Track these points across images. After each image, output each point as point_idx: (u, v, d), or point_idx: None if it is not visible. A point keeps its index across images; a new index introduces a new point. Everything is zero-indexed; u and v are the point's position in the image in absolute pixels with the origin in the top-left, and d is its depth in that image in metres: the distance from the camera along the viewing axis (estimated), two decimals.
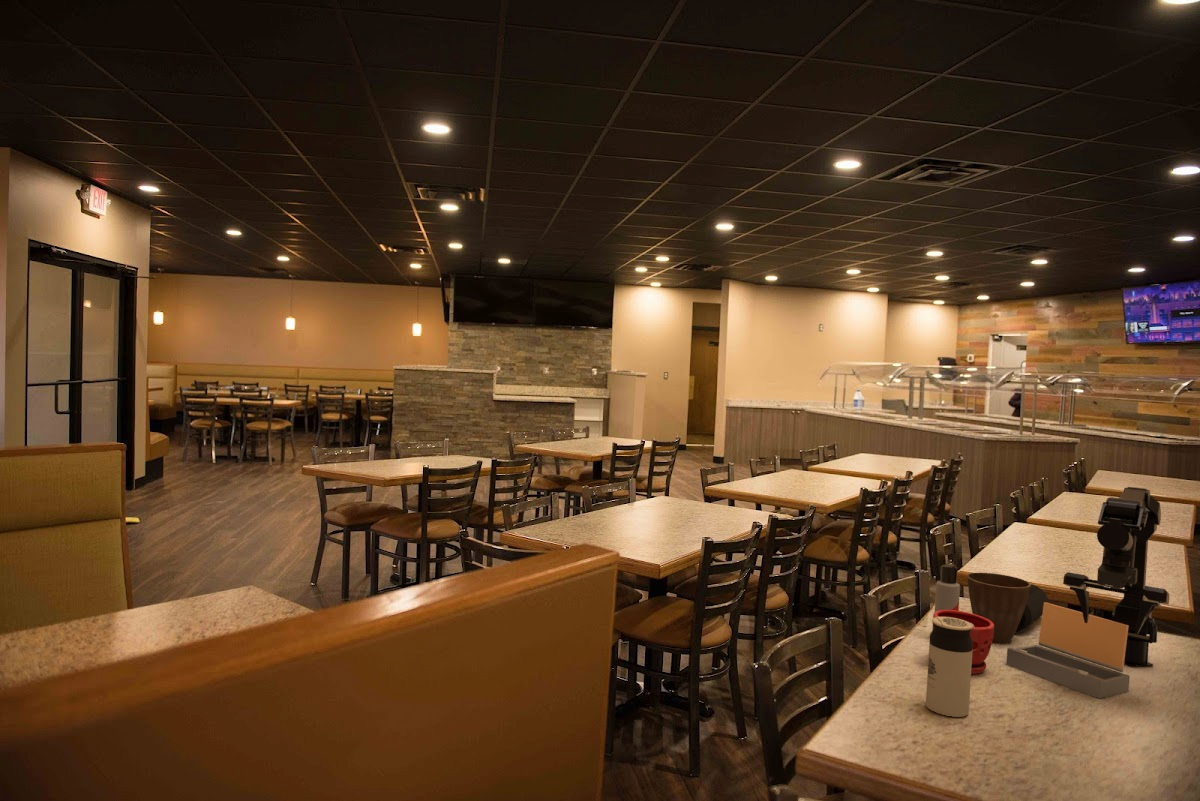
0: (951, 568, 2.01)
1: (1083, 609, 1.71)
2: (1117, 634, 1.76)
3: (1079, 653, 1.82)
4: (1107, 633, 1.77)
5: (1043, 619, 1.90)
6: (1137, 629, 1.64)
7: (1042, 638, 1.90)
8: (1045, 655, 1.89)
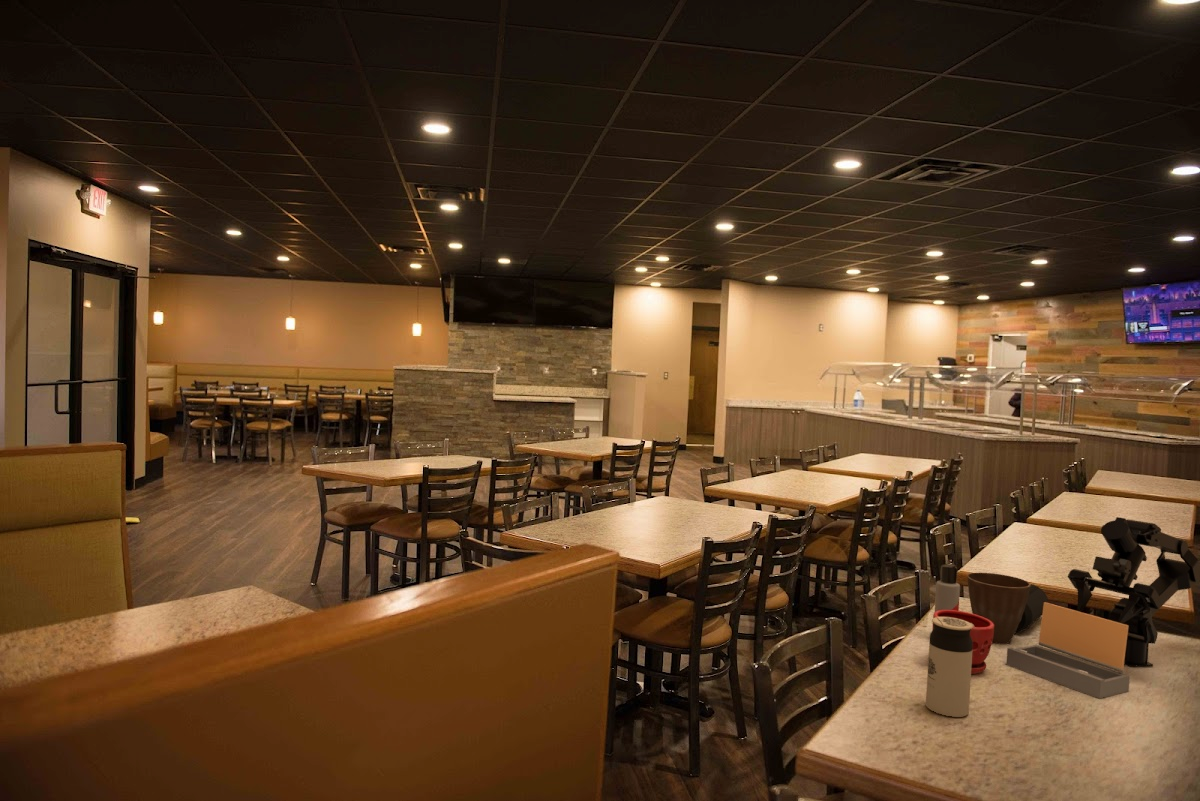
0: (951, 568, 2.01)
1: (1079, 599, 1.89)
2: (1117, 634, 1.76)
3: (1079, 653, 1.82)
4: (1107, 633, 1.77)
5: (1043, 619, 1.90)
6: (1121, 618, 1.80)
7: (1042, 638, 1.90)
8: (1045, 655, 1.89)
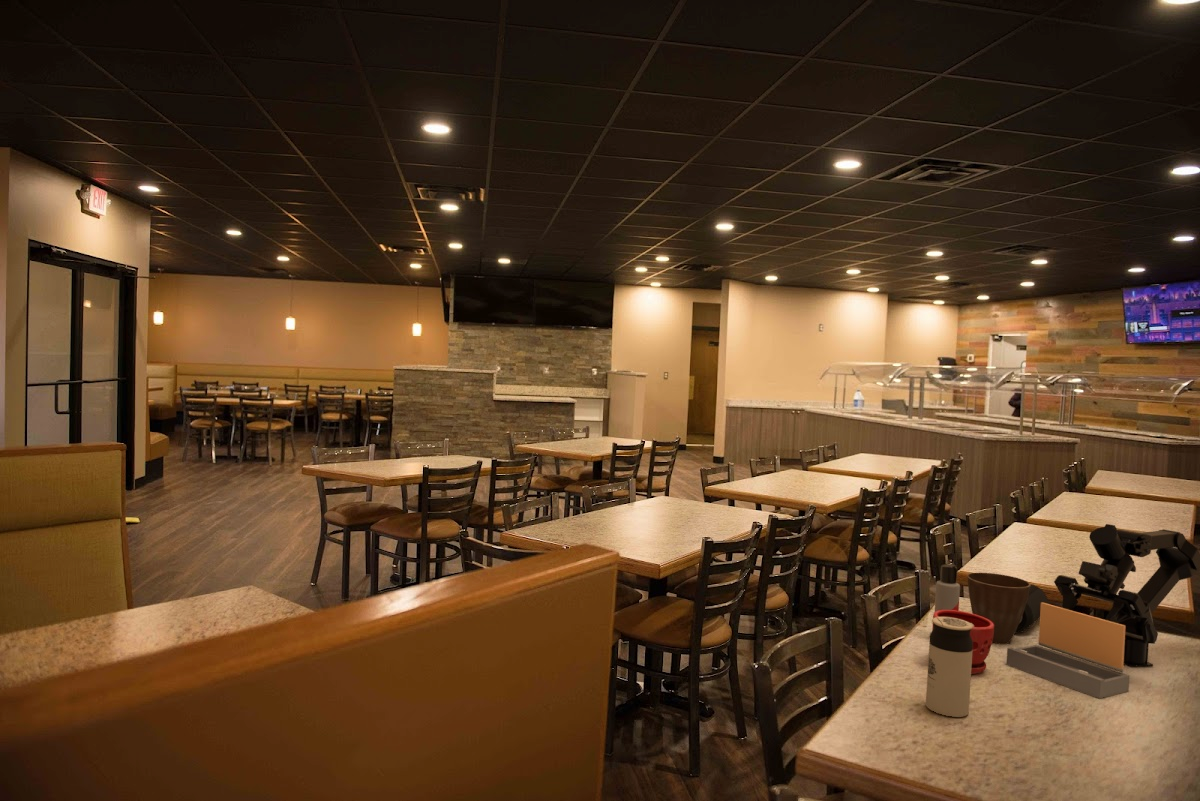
0: (951, 568, 2.01)
1: (1063, 604, 1.88)
2: (1115, 635, 1.75)
3: (1079, 653, 1.82)
4: (1105, 633, 1.77)
5: (1041, 619, 1.90)
6: None
7: (1042, 638, 1.90)
8: (1045, 655, 1.89)
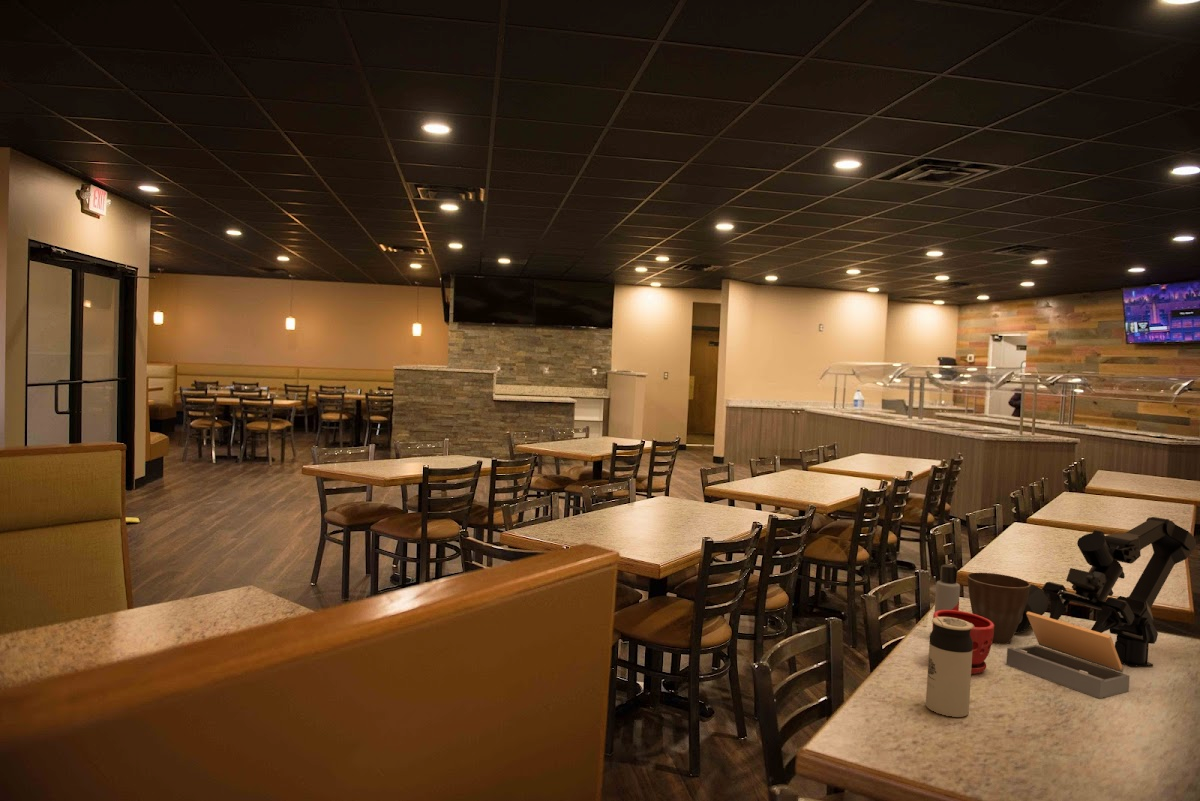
0: (951, 568, 2.01)
1: (1051, 611, 1.85)
2: (1104, 644, 1.73)
3: (1078, 655, 1.82)
4: (1095, 642, 1.75)
5: (1033, 626, 1.89)
6: None
7: (1040, 641, 1.90)
8: (1045, 655, 1.89)
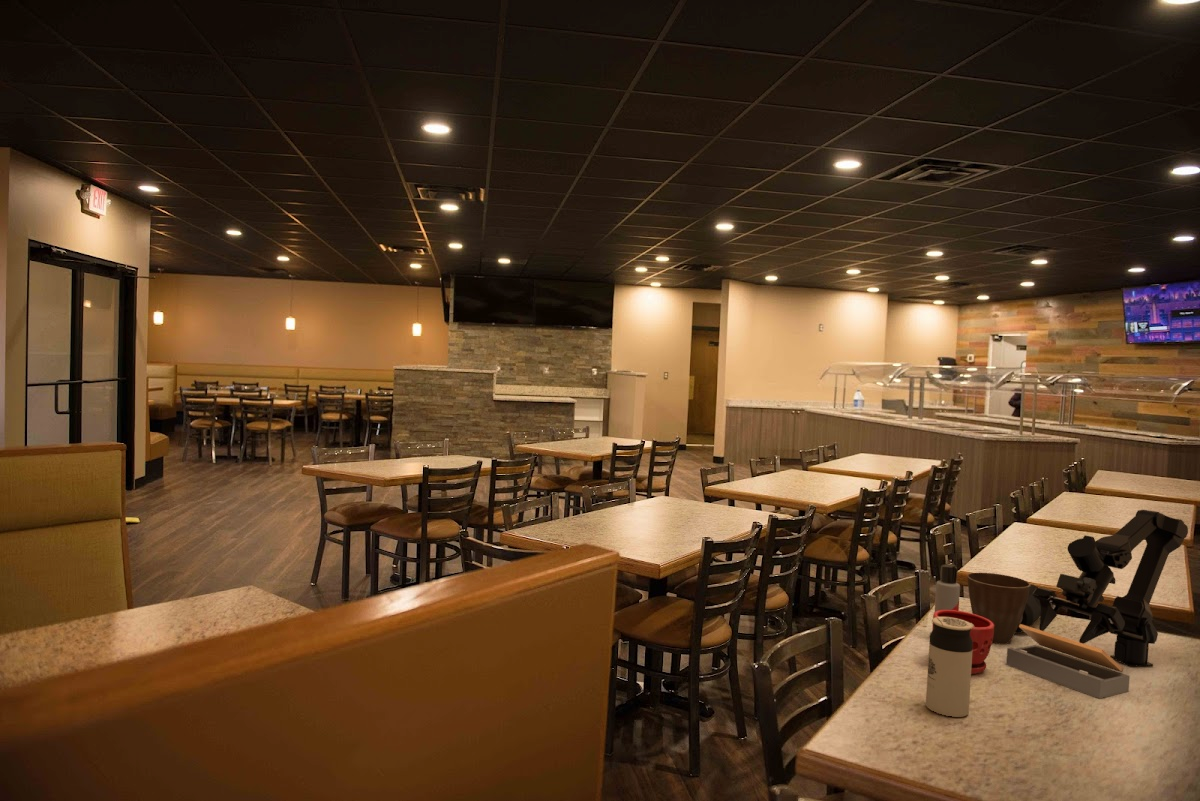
0: (951, 568, 2.01)
1: (1042, 617, 1.84)
2: (1098, 655, 1.72)
3: (1078, 656, 1.82)
4: (1089, 652, 1.74)
5: (1028, 634, 1.88)
6: (1081, 638, 1.74)
7: (1039, 643, 1.90)
8: (1045, 655, 1.89)
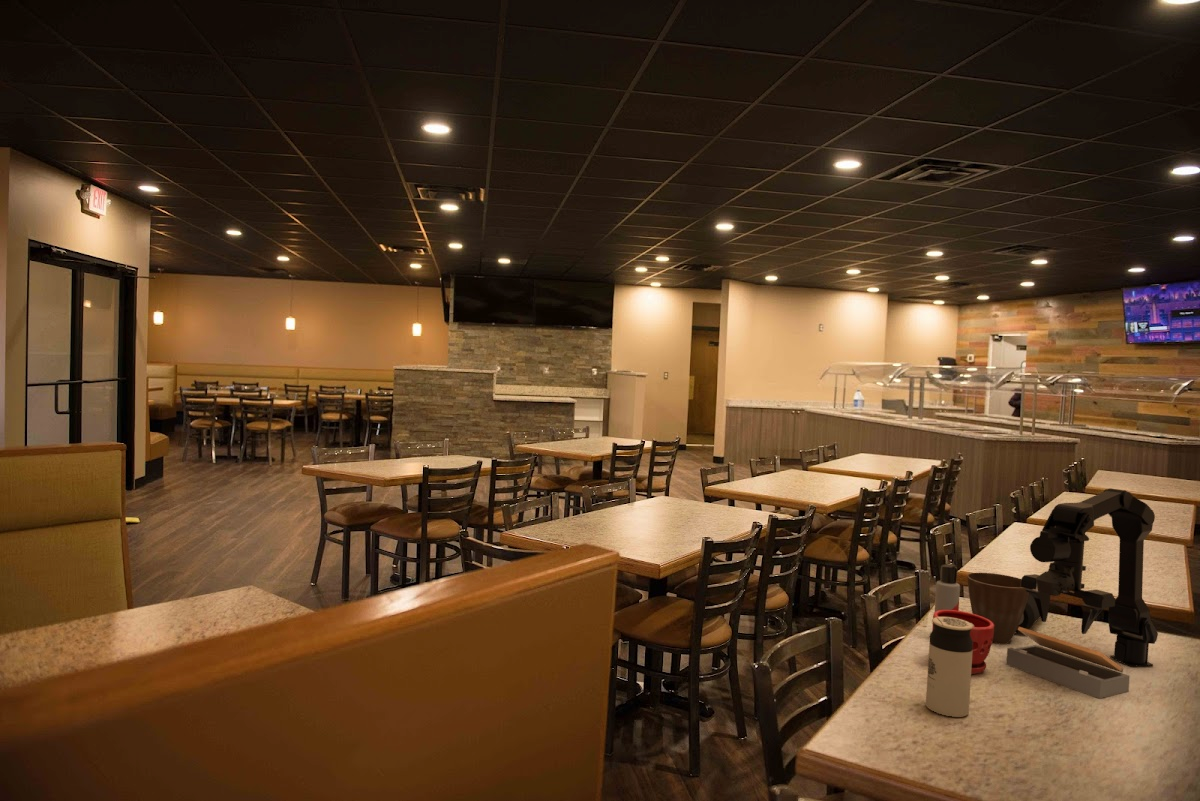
0: (951, 568, 2.01)
1: (1039, 609, 1.83)
2: (1097, 657, 1.72)
3: (1078, 656, 1.82)
4: (1089, 655, 1.74)
5: (1028, 636, 1.88)
6: (1082, 630, 1.74)
7: (1039, 643, 1.90)
8: (1045, 655, 1.89)
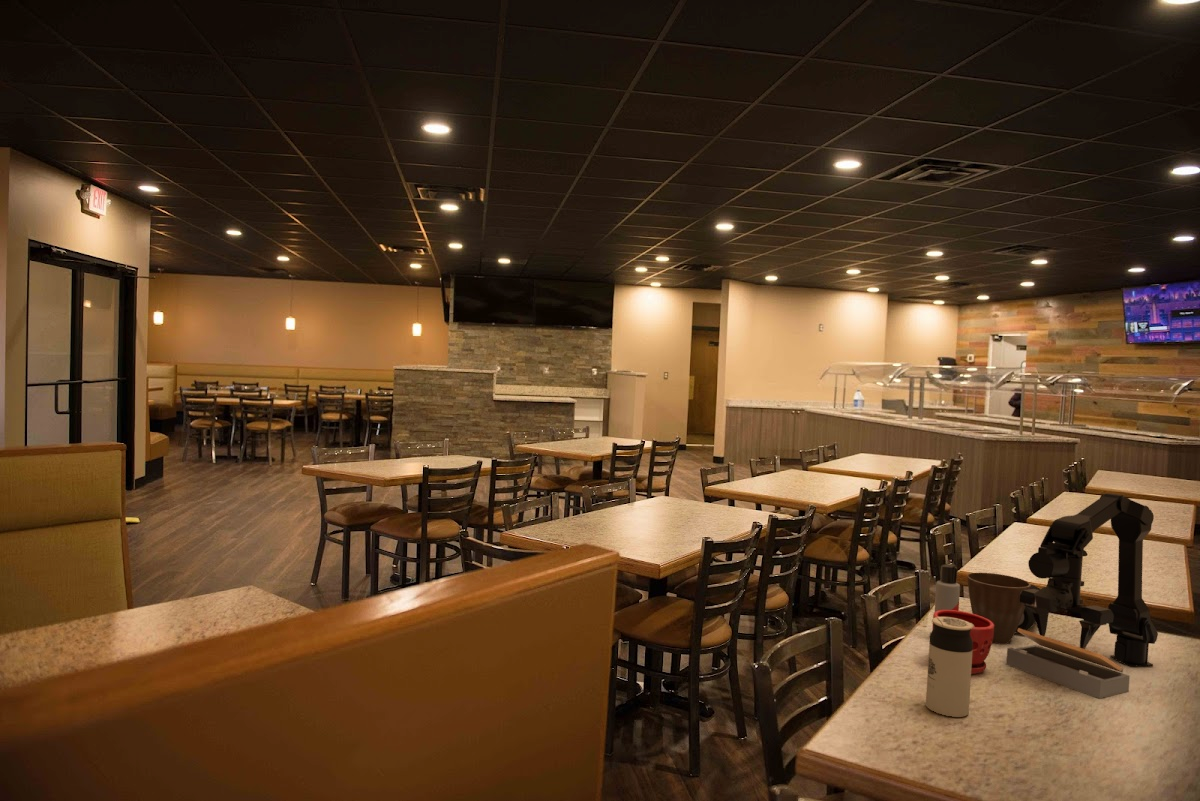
0: (951, 568, 2.01)
1: (1038, 624, 1.83)
2: (1097, 658, 1.72)
3: (1078, 657, 1.82)
4: (1088, 656, 1.74)
5: (1028, 637, 1.88)
6: (1081, 646, 1.74)
7: (1039, 643, 1.90)
8: (1045, 655, 1.89)
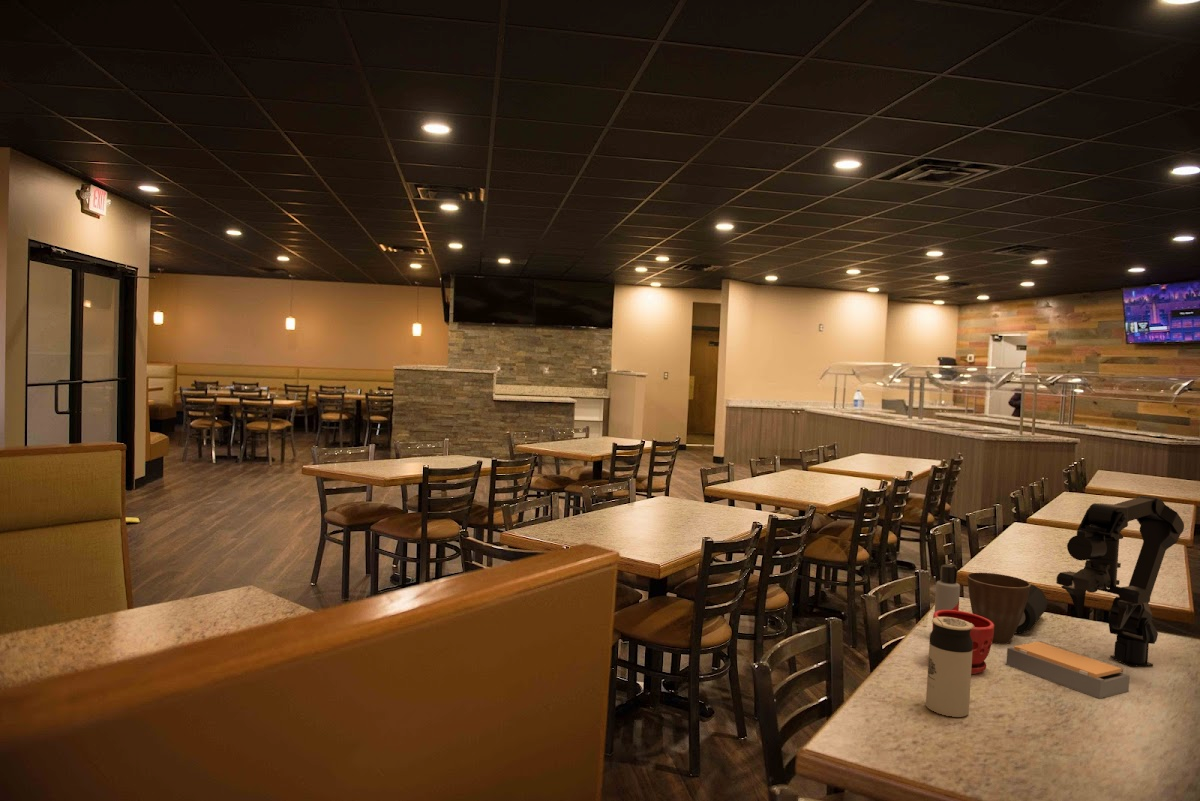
0: (951, 568, 2.01)
1: (1075, 605, 1.90)
2: None
3: None
4: None
5: None
6: (1118, 625, 1.81)
7: None
8: None
